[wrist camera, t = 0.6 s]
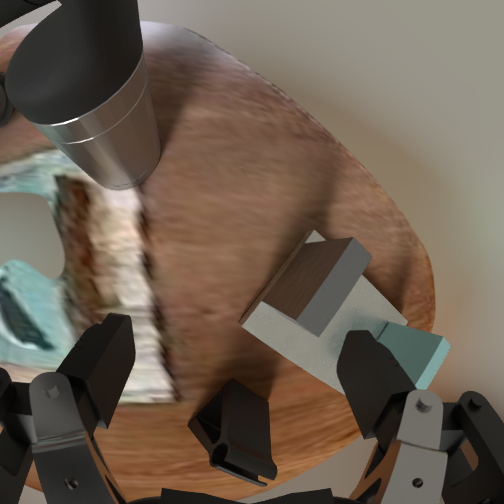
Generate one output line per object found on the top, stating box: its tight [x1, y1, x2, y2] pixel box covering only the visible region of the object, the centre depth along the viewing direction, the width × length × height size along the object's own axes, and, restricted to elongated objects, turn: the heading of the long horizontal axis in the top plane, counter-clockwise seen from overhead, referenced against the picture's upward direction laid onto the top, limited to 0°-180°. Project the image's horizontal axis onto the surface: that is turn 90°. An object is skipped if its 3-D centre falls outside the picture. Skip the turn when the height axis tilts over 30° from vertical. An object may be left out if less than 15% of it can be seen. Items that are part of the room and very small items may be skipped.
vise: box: [238, 230, 408, 395], centre depth 28 cm, size 14×20×12 cm
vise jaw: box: [377, 322, 451, 390], centre depth 28 cm, size 8×4×10 cm, turn 141°
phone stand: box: [188, 379, 277, 487], centre depth 25 cm, size 9×6×12 cm, turn 138°
